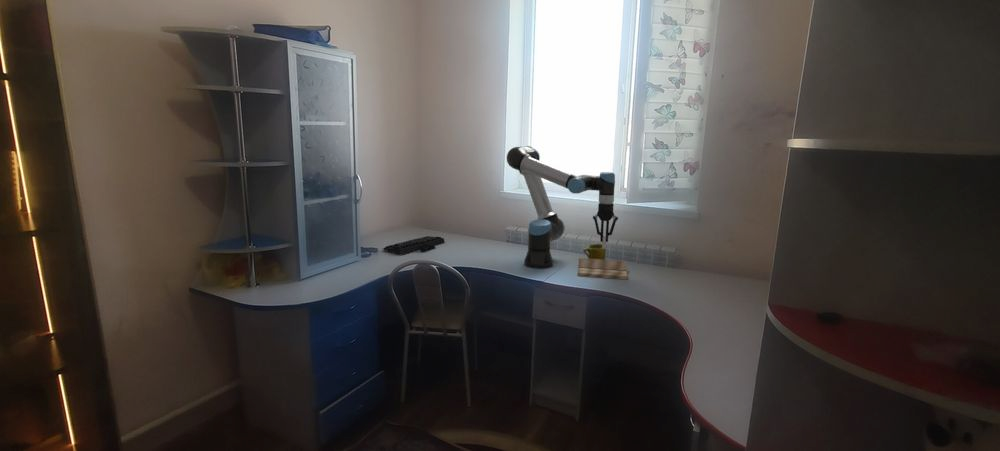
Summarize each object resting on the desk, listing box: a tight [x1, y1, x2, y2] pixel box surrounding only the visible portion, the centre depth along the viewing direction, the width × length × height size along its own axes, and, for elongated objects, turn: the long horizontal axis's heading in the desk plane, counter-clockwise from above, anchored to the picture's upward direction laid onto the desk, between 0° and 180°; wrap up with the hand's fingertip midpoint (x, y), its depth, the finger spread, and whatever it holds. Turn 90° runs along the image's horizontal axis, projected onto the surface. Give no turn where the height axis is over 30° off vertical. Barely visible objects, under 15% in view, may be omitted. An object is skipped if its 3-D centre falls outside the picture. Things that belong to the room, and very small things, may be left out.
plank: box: [577, 257, 627, 272], centre depth 246 cm, size 24×7×2 cm, turn 79°
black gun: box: [382, 235, 446, 255], centre depth 283 cm, size 37×22×5 cm, turn 145°
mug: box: [582, 243, 606, 260], centre depth 264 cm, size 12×10×10 cm
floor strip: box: [577, 267, 628, 280], centre depth 239 cm, size 24×9×2 cm, turn 79°
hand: (603, 247), depth 247 cm, fingers closed
